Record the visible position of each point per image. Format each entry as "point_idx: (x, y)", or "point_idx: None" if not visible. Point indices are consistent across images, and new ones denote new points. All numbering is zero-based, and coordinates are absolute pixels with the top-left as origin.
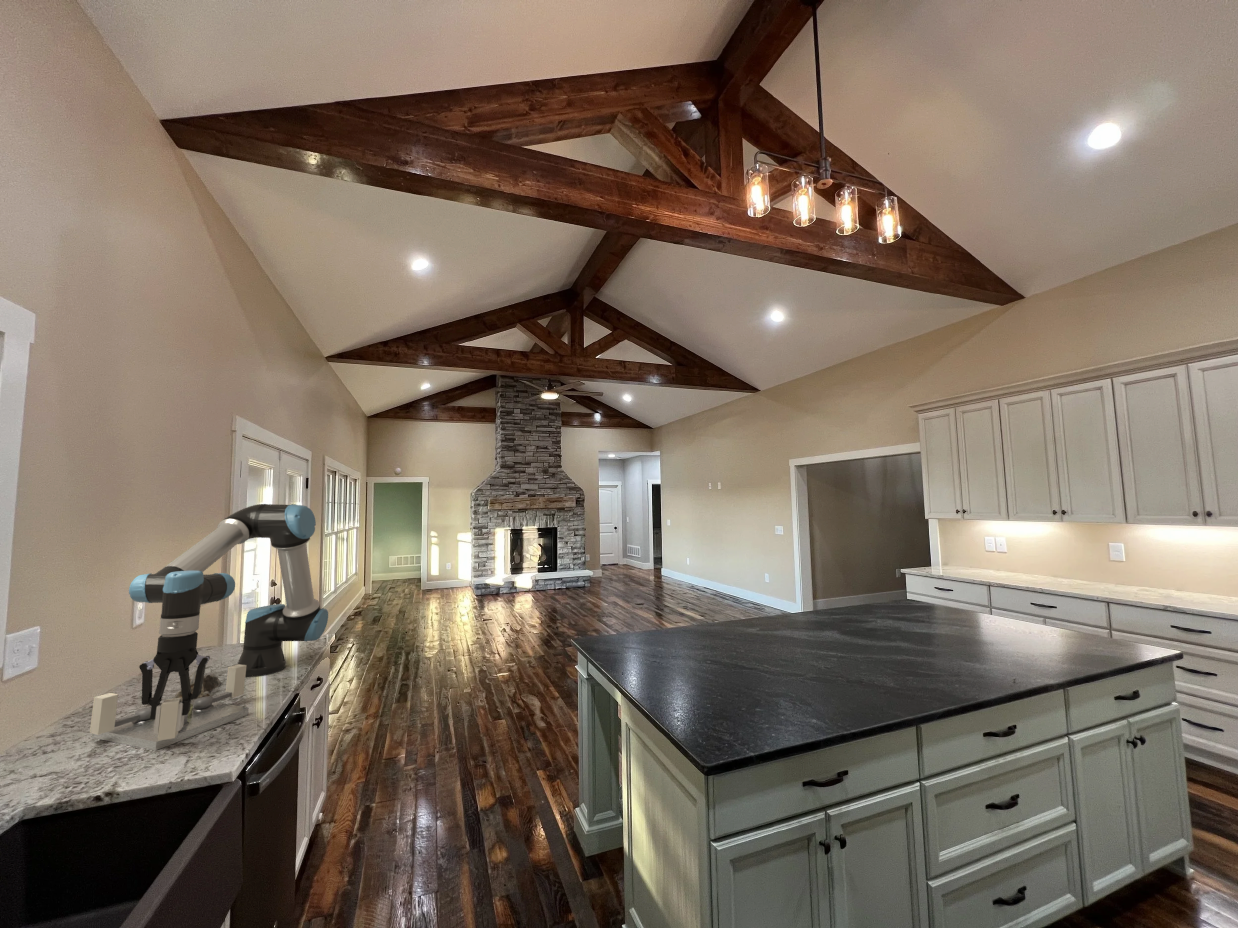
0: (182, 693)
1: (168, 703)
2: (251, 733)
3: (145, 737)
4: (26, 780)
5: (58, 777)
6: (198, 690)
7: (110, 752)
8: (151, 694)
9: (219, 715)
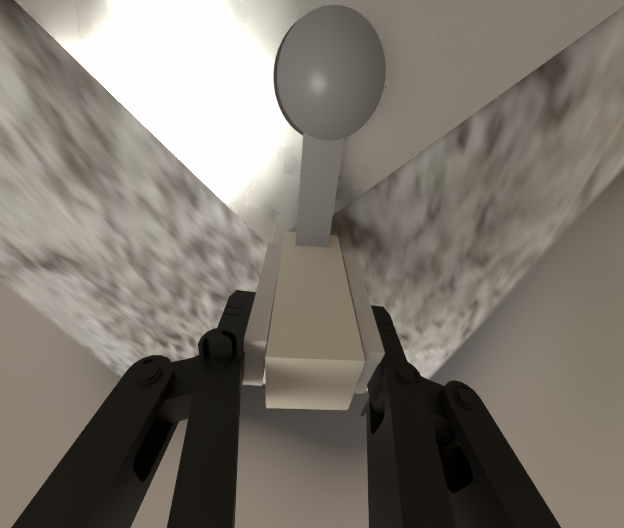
0: (371, 461)
1: (299, 405)
2: (528, 250)
3: (226, 184)
4: (26, 275)
5: (104, 294)
6: (463, 474)
7: (138, 177)
8: (152, 422)
9: (540, 10)
